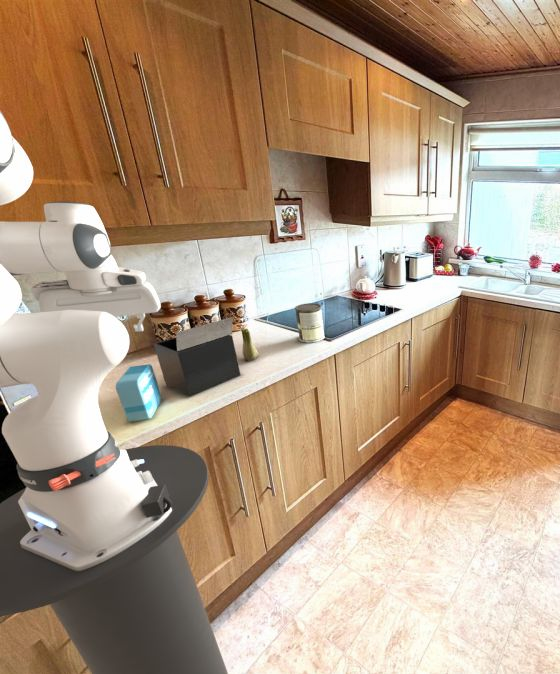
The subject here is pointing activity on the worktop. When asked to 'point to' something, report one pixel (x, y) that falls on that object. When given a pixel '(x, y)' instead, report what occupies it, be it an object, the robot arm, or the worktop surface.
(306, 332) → the coffee can
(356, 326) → the worktop surface
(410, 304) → the worktop surface
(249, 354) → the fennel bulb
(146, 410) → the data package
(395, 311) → the worktop surface
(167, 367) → the black box
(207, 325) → the flap
